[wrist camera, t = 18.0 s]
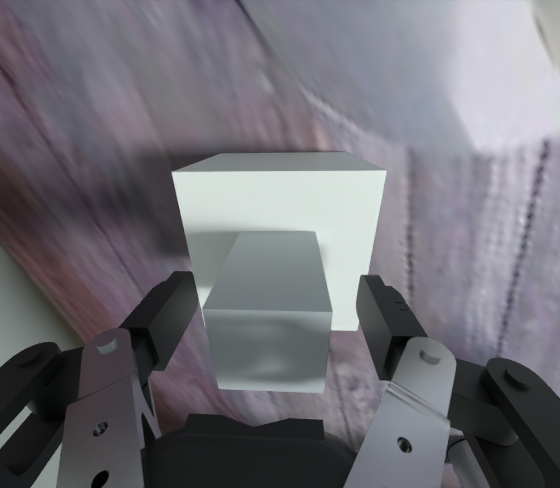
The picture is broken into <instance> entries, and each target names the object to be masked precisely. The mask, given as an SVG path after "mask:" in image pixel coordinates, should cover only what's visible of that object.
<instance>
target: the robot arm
mask: <svg viewBox="0 0 560 488" xmlns="http://www.w3.org/2000/svg"><path fill="white" fill-rule="evenodd" d="M197 306H198V295H197V290H196V285H195V281H194V276H193V273H192V272H191V271H174V272H173V273H172V274H171V276H170V277H169V278H168V279H167V280H166V281H163V282H161V283H160V284H158V285H157V286H155V287H154V288H152V290H151V291H150V292H149V293H148V294H147V295H146V297H145V298H144V299H143V300H142V301H141V302H140V304H138V306H137V307H136V308H135V309H134V310H133V311H132V313H131V314H130V315H129V316H128V317H127V318H126V319H125V321H124V322H123V323H122V324H121V325H120V326H119V328H114V329H110V330H107V331H104V332H102V333H100V334H98V335H97V336H95V337H94V338H93V339H91V340H90V341H89V342H88V343H87V344H86V346H85V347H81V348H76V349H72V350H68V351H63V352H61V350H60V348H59V347H58V345H57V344H56V343H54V342H44V343H39V344H36V345H33V346H31V347H28V348H26V349H24V350H22V351H21V352H19V353H18V354H16V355H15V356H13V357H12V358H11V359H9V360H8V361H7V362H6V363H5V364H4V365H2V366H1V367H0V434H1V433H2V432H3V430H5V429H6V427H7V426H8V425H9V424H10V423H11V421H13V420H14V418H15V417H16V416H17V415H18V414H19V413H20V412H21V411H22V410H23V409H24V407H25V406H27V407H28V408H29V409H30V410H31V411H32V413H31V414H30V415H29V416H28V417H27V419H26V420H25V421H24V422H23V423H22V424H21V425H20V427H19V428H18V429H17V430H16V431H15V432H14V434H13V435H12V436H11V437H10V438H9V439H8V441H7V442H6V443H5V444H4V445H3V446H2V448H1V449H0V488H30V487H31V486H32V485H33V483H34V482H35V480H36V479H37V477H38V476H39V475H40V473H41V471H42V470H43V469H44V467H45V466H46V464H47V463H48V461H49V460H50V458H51V457H52V455H53V454H54V453H55V451H56V450H57V448H58V447H59V445H60V444H61V442H62V447H61V454H60V462H59V470H58V478H57V486H56V488H440V485H441V479H442V473H443V467H444V461H445V455H446V449H447V444H448V438H449V432H450V427H452V428H455V429H458V430H460V431H462V432H463V434H464V436H465V438H466V440H463V441H461V442H459V443H457V444H455V445H454V446H452V447H451V448H450V449H449V451H448V457H449V459H450V462H451V464H452V466H453V468H454V471H455V473H456V474H457V477H458V479H459V481H460V483H461V485H462V487H463V488H560V398H559V397H558V396H557V395H556V394H555V393H554V391H553V390H552V389H551V388H550V387H549V386H548V385H547V384H546V383H545V382H544V381H543V380H542V379H541V378H540V377H539V376H538V375H537V374H536V373H534V372H533V371H531V370H530V369H528V368H527V367H525V366H523V365H521V364H519V363H517V362H515V361H512V360H509V359H505V358H492V359H490V360H489V361H488V363H487V364H486V366H485V367H484V366H481V365H477V364H474V363H470V362H467V361H463V360H460V359H457V358H454V356H453V354H452V353H451V352H450V351H449V350H448V349H447V348H446V347H445V346H443V345H442V344H440V343H439V342H437V341H435V340H433V339H430V338H429V337H428V336H427V334H426V333H425V331H424V329H423V328H422V326H421V325H420V323H419V322H418V320H417V319H416V317H415V315H414V314H413V312H412V311H411V310H410V308H409V306H408V305H407V304H406V301H405V300H404V298H403V297H402V295H401V294H400V293H399V292H398V291H397V290H395V289H394V288H393V287H392V286H385V285H384V283H383V281H382V279H381V278H380V276H379V275H361V276H360V280H359V286H358V292H357V298H356V312H357V316H358V319H359V322H360V325H361V327H362V330H363V333H364V336H365V339H366V342H367V345H368V348H369V351H370V354H371V357H372V360H373V363H374V366H375V369H376V372H377V374H378V377H379V380H386V381H390V384H388V386H387V388H386V390H385V393H384V395H383V397H382V400H381V402H380V404H379V406H378V409H377V411H376V413H375V416H374V418H373V420H372V423H371V425H370V427H369V430H368V432H367V434H366V436H365V439H364V441H363V443H362V446H361V448H360V450H359V453H358V454H357V453H356V452H355V451H354V450H353V449H352V448H351V447H350V446H349V445H347V444H346V443H345V442H343V441H342V440H340V439H339V438H337V437H335V436H333V435H331V434H329V433H326V432H324V426H323V420H314V419H293V418H289V419H285V420H281V421H277V422H273V423H269V424H265V425H261V426H256V427H252V426H249V425H246V424H244V423H241V422H238V421H236V420H233V419H230V418H228V417H225V416H222V415H209V414H189V415H188V418H187V421H186V424H185V426H182V427H179V428H176V429H174V430H171V431H169V432H168V433H166V434H164V435H162V436H161V433H160V429H159V426H158V422H157V416H156V411H155V406H154V401H153V395H152V390H151V385H150V381H149V376H150V374H151V372H152V371H164V370H165V368H166V366H167V364H168V362H169V360H170V358H171V357H172V355H173V353H174V351H175V349H176V347H177V345H178V343H179V341H180V340H181V338H182V336H183V334H184V332H185V330H186V328H187V326H188V324H189V323H190V321H191V319H192V317H193V315H194V313H195V311H196V309H197Z"/></svg>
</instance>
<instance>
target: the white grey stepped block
mask: <svg viewBox="0 0 560 488" xmlns="http://www.w3.org/2000/svg"><path fill="white" fill-rule="evenodd" d="M386 172H387V170H385V169H382V168H380V167H378V166H376V165H374V164H372V163H370V162H368V161H365V160H363V159H361V158H359V157H357V156H355V155H353V154H351V153H348V152H296V153H221V154H218V155H215V156H213V157H210V158H207V159H205V160H202V161H199V162H197V163H194V164H191V165H189V166H186V167H183V168H181V169H178V170H175V171H173V172H172V176H173V181H174V185H175V190H176V195H177V199H178V204H179V208H180V213H181V218H182V222H183V227H184V232H185V236H186V241H187V245H188V250H189V255H190V259H191V264H192V269H193V273H194V278H195V282H196V287H197V292H198V296H199V301H200V306H201V310H202V315H203V319H204V324H205V327H206V331H207V336H208V340H209V345H210V350H211V354H212V359H213V364H214V368H215V373H216V378H217V382H218V387H219V389H236V390H260V391H284V392H307V393H324V386H325V377H326V368H327V359H328V351H329V342H330V333H331V330H346V331H357V329H358V324H359V319H358V316H357V312H356V298H357V292H358V286H359V280H360V276H361V275H368V269H369V264H370V259H371V253H372V248H373V242H374V237H375V232H376V226H377V221H378V215H379V210H380V204H381V199H382V194H383V188H384V183H385V177H386Z"/></svg>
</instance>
